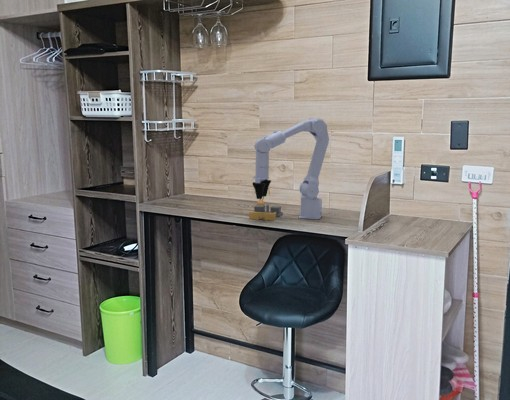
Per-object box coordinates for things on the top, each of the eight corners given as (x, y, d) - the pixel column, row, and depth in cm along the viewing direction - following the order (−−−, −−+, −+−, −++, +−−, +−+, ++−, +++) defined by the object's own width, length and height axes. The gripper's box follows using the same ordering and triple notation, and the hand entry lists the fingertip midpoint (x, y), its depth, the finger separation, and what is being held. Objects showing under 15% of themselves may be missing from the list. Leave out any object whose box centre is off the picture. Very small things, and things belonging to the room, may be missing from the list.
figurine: (251, 208, 254) (251, 184, 252) (257, 206, 259) (257, 182, 257) (266, 209, 250) (266, 185, 248) (272, 207, 255) (272, 183, 253)
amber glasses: (251, 217, 233) (251, 210, 232) (276, 218, 230) (276, 212, 229) (248, 218, 229) (248, 212, 228) (274, 220, 226) (274, 213, 225)
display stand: (256, 212, 243) (256, 202, 242) (283, 214, 239) (283, 203, 239) (251, 215, 236) (251, 205, 235) (279, 217, 233) (279, 206, 232)
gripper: (257, 164, 233) (257, 194, 235) (248, 167, 219) (248, 199, 221) (272, 165, 231) (272, 195, 233) (264, 168, 217) (264, 200, 219)
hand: (261, 197), depth 227 cm, fingers open, 7 cm apart
